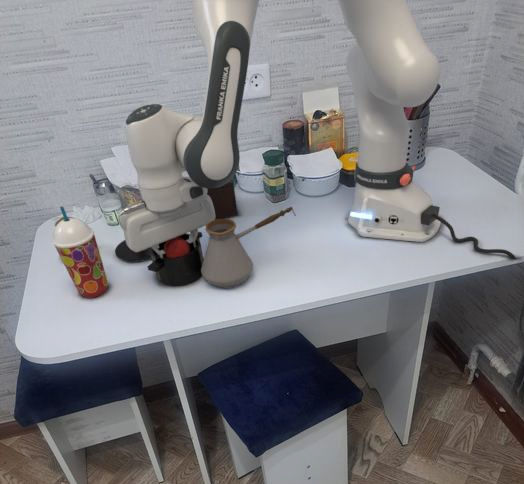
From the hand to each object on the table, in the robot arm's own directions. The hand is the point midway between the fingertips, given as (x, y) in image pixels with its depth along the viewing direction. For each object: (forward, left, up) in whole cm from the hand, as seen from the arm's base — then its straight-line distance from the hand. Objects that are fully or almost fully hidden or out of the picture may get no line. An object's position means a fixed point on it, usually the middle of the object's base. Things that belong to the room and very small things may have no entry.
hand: (177, 253), depth 105 cm
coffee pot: (-15, -5, -5) cm, 17 cm away
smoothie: (+14, +14, -5) cm, 21 cm away
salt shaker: (+30, +4, -5) cm, 31 cm away
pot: (0, 0, -5) cm, 5 cm away
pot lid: (+16, -4, -4) cm, 17 cm away
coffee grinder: (+12, -27, -5) cm, 30 cm away
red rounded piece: (0, 0, -3) cm, 3 cm away
